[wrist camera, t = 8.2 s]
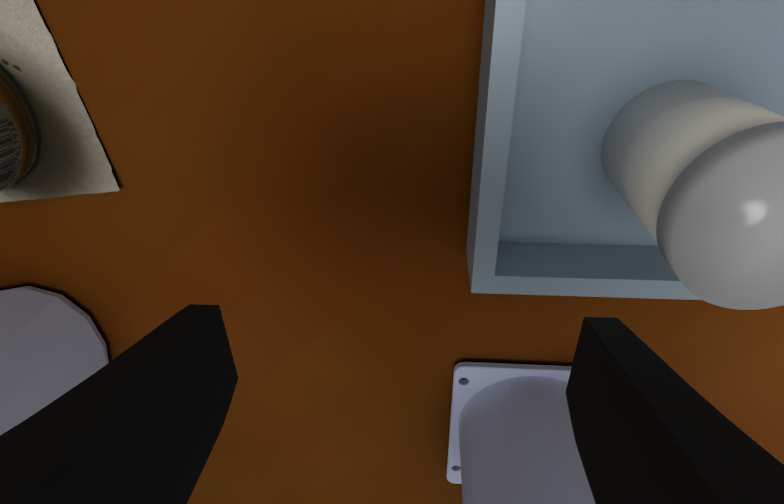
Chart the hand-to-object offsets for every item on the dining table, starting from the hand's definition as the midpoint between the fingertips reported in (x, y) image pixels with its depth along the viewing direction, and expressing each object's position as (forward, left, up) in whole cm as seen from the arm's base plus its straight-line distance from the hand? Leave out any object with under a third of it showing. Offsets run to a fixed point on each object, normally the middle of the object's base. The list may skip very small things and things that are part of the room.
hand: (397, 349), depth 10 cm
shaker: (+1, -9, -10) cm, 13 cm away
